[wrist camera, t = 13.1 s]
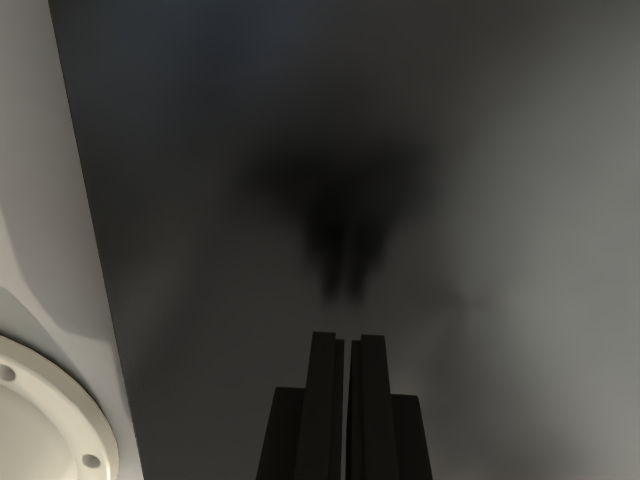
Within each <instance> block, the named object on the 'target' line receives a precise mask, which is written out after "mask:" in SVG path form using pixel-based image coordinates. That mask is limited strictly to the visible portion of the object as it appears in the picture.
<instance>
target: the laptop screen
mask: <svg viewBox="0 0 640 480" xmlns="http://www.w3.org/2000/svg"><path fill="white" fill-rule="evenodd" d="M48 3H49V8H50V13H51V18H52V23H53V28H54V33H55V38H56V43H57V48H58V53H59V58H60V63H61V68H62V73H63V78H64V83H65V88H66V93H67V98H68V103H69V108H70V113H71V118H72V123H73V128H74V133H75V138H76V143H77V148H78V153H79V158H80V163H81V168H82V173H83V178H84V183H85V188H86V193H87V198H88V203H89V208H90V213H91V218H92V223H93V228H94V233H95V238H96V243H97V248H98V253H99V258H100V263H101V268H102V273H103V278H104V283H105V288H106V293H107V298H108V303H109V308H110V313H111V318H112V323H113V327H114V332H115V337H116V342H117V347H118V352H119V357H120V362H121V367H122V372H123V377H124V382H125V387H126V392H127V397H128V402H129V407H130V412H131V417H132V422H133V427H134V432H135V437H136V442H137V447H138V452H139V457H140V462H141V467H142V472H143V477H144V480H256V475H257V470H258V466H259V461H260V456H261V452H262V447H263V442H264V438H265V433H266V428H267V424H268V419H269V414H270V410H271V405H272V401H273V396H274V392H275V388H276V386H277V387H293V388H306V380H307V372H308V365H309V357H310V350H311V342H312V334H313V331H316V332H333V333H336V339H345V342H344V380H343V417H342V454H341V480H345V454H346V423H347V407H348V392H349V376H350V360H351V344H352V340H361V334H368V335H384V336H385V344H386V354H387V363H388V373H389V383H390V393H391V394H403V395H417V396H418V399H419V403H420V408H421V414H422V420H423V425H424V431H425V437H426V442H427V448H428V453H429V459H430V465H431V470H432V476H433V480H640V0H48Z"/></svg>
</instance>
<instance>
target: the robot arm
mask: <svg viewBox="0 0 640 480" xmlns="http://www.w3.org/2000/svg"><path fill="white" fill-rule="evenodd" d="M344 342H345V339H336V333H333V332H316V331H313V334H312V342H311V350H310V357H309V365H308V372H307V380H306V388H293V387H277V386H276V388H275V392H274V396H273V401H272V405H271V410H270V414H269V419H268V424H267V428H266V433H265V438H264V442H263V447H262V452H261V456H260V461H259V466H258V470H257V475H256V480H341V454H342V417H343V380H344ZM118 468H119V455H118V449H117V442H116V440H115V437H114V435H113V432H112V430H111V427H110V425H109V423H108V421H107V419H106V418H105V416H104V415H103V413H102V412H101V410H100V409H99V407H98V405H97V404H96V402H95V401H94V400H93V399H92V398H91V397H90V396H89V394H88V393H87V392H86V391H85V390H84V389H83V388H82V387H81V386H80V385H79V383H78V382H76V381H75V380H74V379H73V378H72V377H70V376H69V375H68V374H67V373H66V372H64V371H63V370H62V369H61V368H60V367H58V366H57V365H56V364H54V363H53V362H51V361H49V360H48V359H46V358H45V357H43V356H41V355H40V354H38V353H37V352H35V351H33V350H32V349H30V348H28V347H25V346H23V345H21V344H19V343H17V342H15V341H12V340H10V339H8V338H6V337H3V336H0V480H116V479H117V476H118ZM345 480H433V476H432V470H431V465H430V459H429V453H428V448H427V442H426V437H425V431H424V425H423V420H422V414H421V408H420V403H419V399H418V396H417V395H403V394H391V393H390V383H389V373H388V363H387V354H386V344H385V336H384V335H368V334H361V340H352V344H351V360H350V376H349V392H348V407H347V423H346V454H345Z"/></svg>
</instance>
